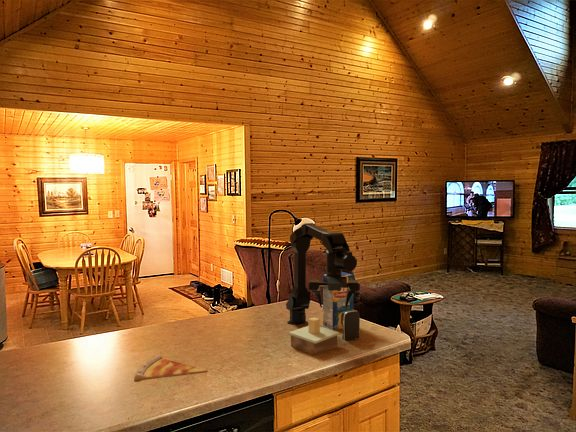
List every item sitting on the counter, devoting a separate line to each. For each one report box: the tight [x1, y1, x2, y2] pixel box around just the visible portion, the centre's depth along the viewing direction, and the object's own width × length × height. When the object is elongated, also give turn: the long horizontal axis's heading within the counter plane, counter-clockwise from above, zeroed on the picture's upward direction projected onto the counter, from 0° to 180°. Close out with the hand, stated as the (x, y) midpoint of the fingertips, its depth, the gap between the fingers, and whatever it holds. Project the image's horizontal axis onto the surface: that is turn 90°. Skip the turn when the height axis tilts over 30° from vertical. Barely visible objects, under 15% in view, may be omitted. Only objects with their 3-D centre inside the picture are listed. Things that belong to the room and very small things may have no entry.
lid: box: [288, 316, 340, 344], centre depth 159 cm, size 13×13×6 cm
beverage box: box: [322, 271, 355, 331], centre depth 183 cm, size 7×11×22 cm, turn 121°
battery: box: [341, 309, 361, 342], centre depth 168 cm, size 7×4×11 cm, turn 118°
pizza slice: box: [133, 353, 208, 381], centre depth 138 cm, size 16×22×2 cm
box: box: [290, 335, 338, 356], centre depth 160 cm, size 12×12×5 cm
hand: (333, 307), depth 163 cm, fingers open, 9 cm apart
